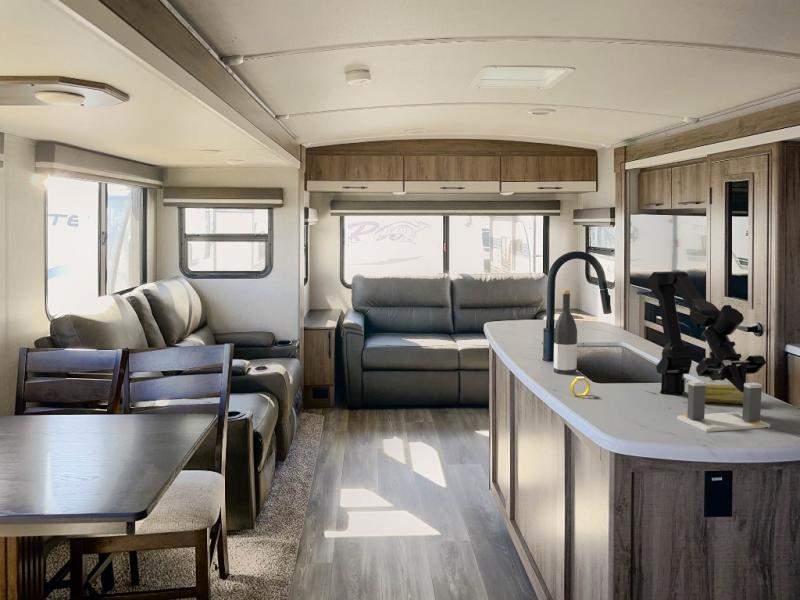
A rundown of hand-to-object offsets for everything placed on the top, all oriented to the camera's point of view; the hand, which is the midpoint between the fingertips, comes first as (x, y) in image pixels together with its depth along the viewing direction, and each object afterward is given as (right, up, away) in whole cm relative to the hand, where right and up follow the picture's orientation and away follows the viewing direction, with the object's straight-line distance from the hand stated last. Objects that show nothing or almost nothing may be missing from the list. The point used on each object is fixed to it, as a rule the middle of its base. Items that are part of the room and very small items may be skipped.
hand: (743, 391), depth 199 cm
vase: (+10, -3, +18) cm, 21 cm away
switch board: (-6, -8, -1) cm, 10 cm away
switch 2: (+1, -7, -3) cm, 8 cm away
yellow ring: (-37, -5, +31) cm, 48 cm away
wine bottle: (-34, -1, +66) cm, 74 cm away
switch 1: (-13, -7, 0) cm, 15 cm away
